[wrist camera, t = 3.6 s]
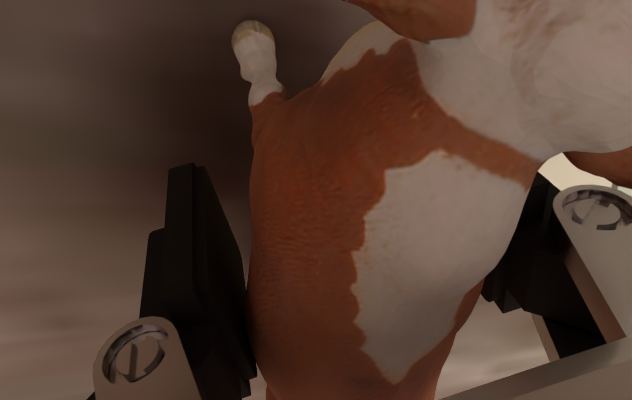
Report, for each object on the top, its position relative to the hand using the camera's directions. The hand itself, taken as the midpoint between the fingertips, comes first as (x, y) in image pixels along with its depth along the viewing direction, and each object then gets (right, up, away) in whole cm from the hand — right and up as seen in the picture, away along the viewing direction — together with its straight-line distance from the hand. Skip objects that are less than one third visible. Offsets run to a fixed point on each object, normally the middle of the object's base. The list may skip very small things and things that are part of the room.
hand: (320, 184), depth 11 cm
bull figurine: (-1, +1, +2) cm, 2 cm away
